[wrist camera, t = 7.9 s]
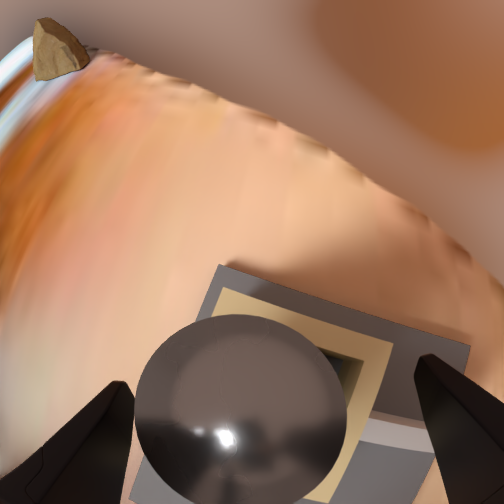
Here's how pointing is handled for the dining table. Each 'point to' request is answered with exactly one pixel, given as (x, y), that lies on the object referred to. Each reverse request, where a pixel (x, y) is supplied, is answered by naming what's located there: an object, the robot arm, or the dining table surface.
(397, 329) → the grey plate with frame
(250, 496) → the hinge pin
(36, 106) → the dining table surface
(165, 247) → the dining table surface
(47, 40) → the rock
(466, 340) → the dining table surface
